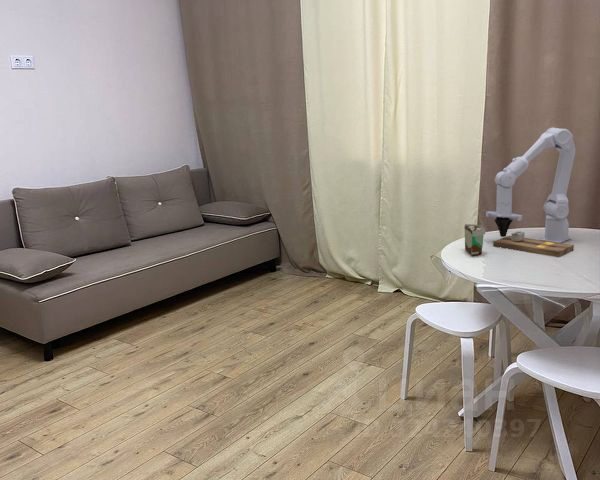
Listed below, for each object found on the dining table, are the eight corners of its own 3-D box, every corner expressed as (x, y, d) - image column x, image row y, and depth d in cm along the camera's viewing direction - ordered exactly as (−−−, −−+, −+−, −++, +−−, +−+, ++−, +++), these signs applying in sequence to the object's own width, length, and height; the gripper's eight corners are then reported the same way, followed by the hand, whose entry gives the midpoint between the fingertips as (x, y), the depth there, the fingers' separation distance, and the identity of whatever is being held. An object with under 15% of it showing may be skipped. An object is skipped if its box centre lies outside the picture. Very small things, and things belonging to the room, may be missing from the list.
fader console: (509, 240, 241) (509, 235, 240) (573, 250, 222) (573, 244, 221) (493, 246, 233) (493, 241, 233) (558, 257, 214) (558, 251, 214)
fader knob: (517, 238, 234) (517, 230, 233) (524, 239, 232) (524, 231, 231) (511, 240, 231) (511, 233, 230) (518, 241, 229) (518, 234, 228)
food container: (489, 256, 219) (489, 230, 217) (472, 257, 220) (472, 231, 217) (480, 248, 231) (480, 223, 229) (464, 249, 232) (464, 224, 229)
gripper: (482, 202, 235) (481, 235, 239) (516, 205, 225) (515, 240, 228) (491, 199, 240) (490, 232, 243) (525, 202, 229) (524, 237, 232)
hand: (503, 236), depth 236 cm, fingers closed
